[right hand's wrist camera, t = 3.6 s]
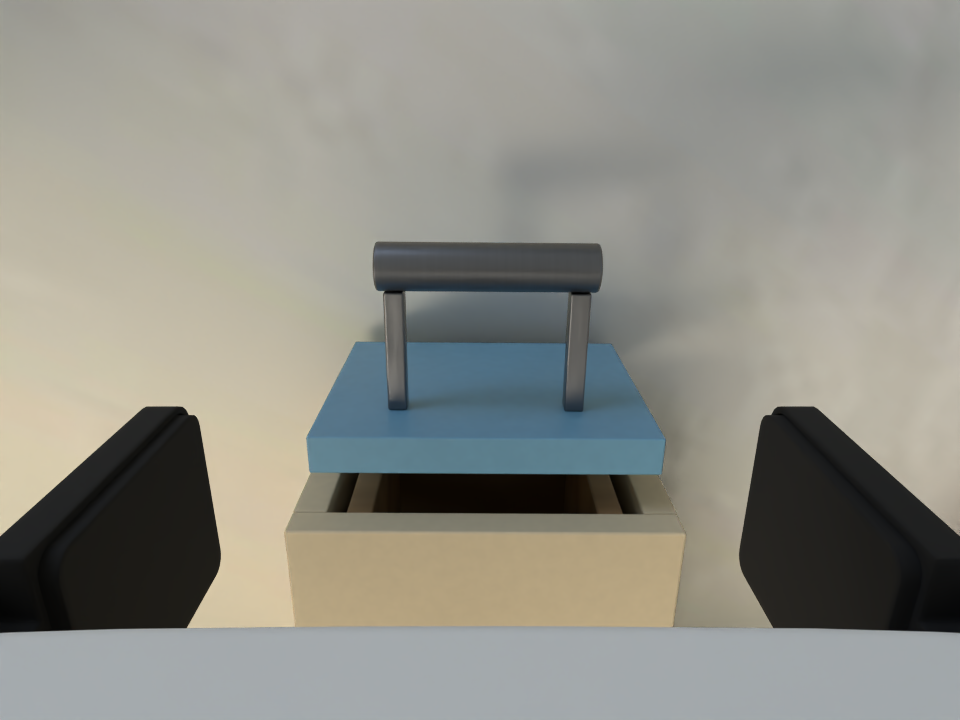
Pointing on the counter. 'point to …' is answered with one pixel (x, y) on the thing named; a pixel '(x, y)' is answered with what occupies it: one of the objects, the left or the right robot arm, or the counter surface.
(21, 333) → the counter surface
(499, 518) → the tan storage bin
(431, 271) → the drawer
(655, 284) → the counter surface
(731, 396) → the counter surface
